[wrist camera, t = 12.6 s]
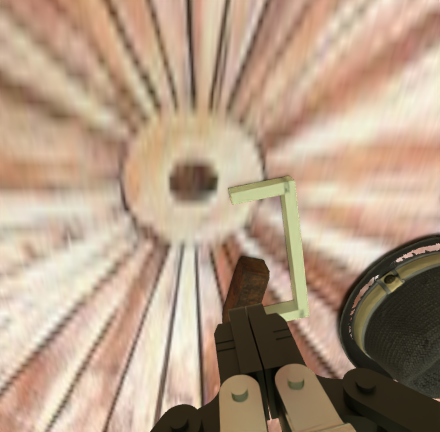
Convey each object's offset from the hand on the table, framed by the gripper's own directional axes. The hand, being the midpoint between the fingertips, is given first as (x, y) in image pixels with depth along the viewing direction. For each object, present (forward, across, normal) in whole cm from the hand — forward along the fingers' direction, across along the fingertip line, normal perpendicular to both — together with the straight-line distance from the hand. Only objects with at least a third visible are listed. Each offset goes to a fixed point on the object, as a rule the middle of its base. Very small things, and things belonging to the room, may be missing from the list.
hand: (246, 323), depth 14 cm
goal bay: (+31, -7, +13) cm, 34 cm away
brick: (+31, -2, +18) cm, 36 cm away
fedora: (+31, -30, +28) cm, 52 cm away
